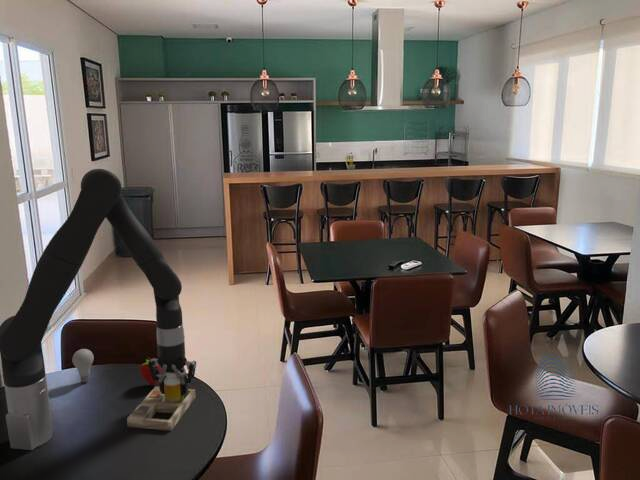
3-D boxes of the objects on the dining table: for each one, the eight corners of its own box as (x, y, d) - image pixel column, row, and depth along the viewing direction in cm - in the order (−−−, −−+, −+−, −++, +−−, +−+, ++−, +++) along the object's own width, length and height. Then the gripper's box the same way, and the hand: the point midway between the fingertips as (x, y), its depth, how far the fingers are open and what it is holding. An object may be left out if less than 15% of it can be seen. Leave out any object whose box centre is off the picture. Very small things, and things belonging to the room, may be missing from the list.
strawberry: (154, 392, 158) (151, 362, 156) (136, 386, 162) (134, 357, 159) (168, 384, 163) (166, 355, 161) (151, 378, 167) (148, 350, 165)
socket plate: (171, 430, 139) (170, 421, 138) (127, 426, 141) (126, 417, 140) (195, 396, 156) (195, 388, 155) (156, 393, 158) (155, 385, 157)
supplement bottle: (184, 404, 150) (182, 374, 148) (164, 406, 149) (162, 376, 147) (184, 395, 155) (182, 365, 153) (165, 397, 154) (163, 367, 152)
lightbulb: (81, 388, 161) (77, 355, 158) (71, 382, 164) (67, 350, 162) (99, 380, 165) (96, 349, 163) (89, 375, 169) (86, 344, 166)
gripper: (140, 343, 145) (145, 398, 149) (189, 346, 143) (192, 402, 147) (152, 332, 152) (156, 385, 156) (199, 336, 150) (202, 389, 154)
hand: (174, 393), depth 151 cm, fingers closed on supplement bottle, 5 cm apart
